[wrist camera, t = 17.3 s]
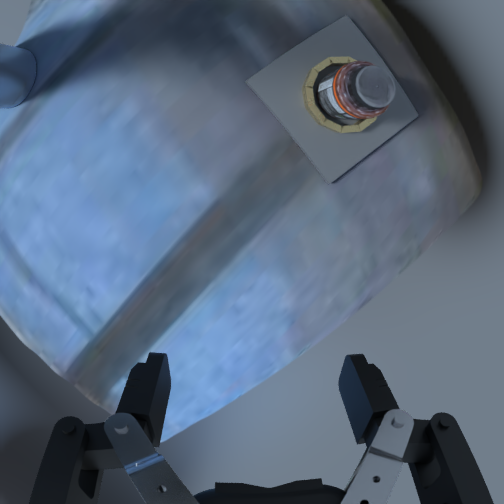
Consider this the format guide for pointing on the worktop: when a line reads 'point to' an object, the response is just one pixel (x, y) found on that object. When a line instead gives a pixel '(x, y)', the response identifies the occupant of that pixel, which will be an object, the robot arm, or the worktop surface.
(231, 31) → the worktop surface
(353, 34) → the grey square plate
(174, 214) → the worktop surface
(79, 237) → the worktop surface
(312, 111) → the brass collar
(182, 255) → the worktop surface
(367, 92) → the supplement bottle
